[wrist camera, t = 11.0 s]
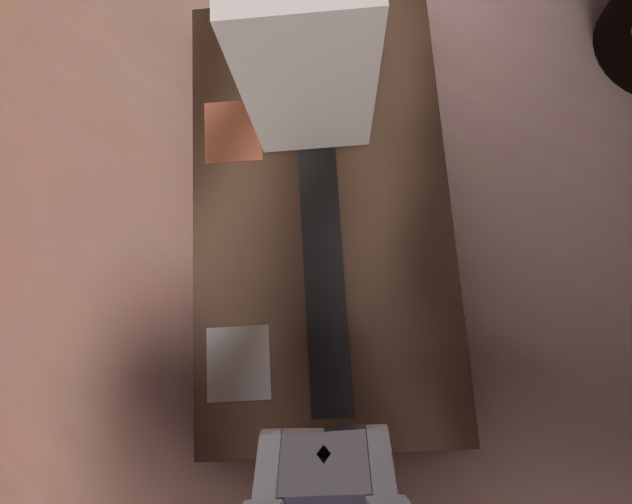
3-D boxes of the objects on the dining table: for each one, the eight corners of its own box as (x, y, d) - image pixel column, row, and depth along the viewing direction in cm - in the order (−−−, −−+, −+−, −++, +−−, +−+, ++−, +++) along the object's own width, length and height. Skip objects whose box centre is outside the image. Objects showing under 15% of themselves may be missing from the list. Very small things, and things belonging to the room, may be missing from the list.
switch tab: (364, 86, 22) (379, -86, 13) (368, 144, 21) (389, 5, 12) (261, 95, 22) (208, -69, 13) (264, 152, 21) (210, 21, 13)
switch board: (419, 9, 24) (424, -13, 23) (469, 440, 20) (480, 449, 18) (201, 29, 25) (192, 8, 23) (204, 453, 21) (193, 462, 19)
